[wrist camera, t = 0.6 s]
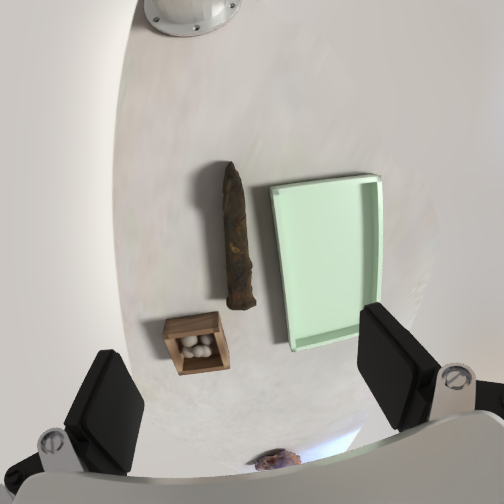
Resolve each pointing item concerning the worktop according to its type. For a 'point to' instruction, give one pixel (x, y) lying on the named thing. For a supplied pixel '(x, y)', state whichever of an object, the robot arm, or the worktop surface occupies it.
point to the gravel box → (197, 343)
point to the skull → (278, 461)
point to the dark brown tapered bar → (236, 243)
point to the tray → (328, 255)
